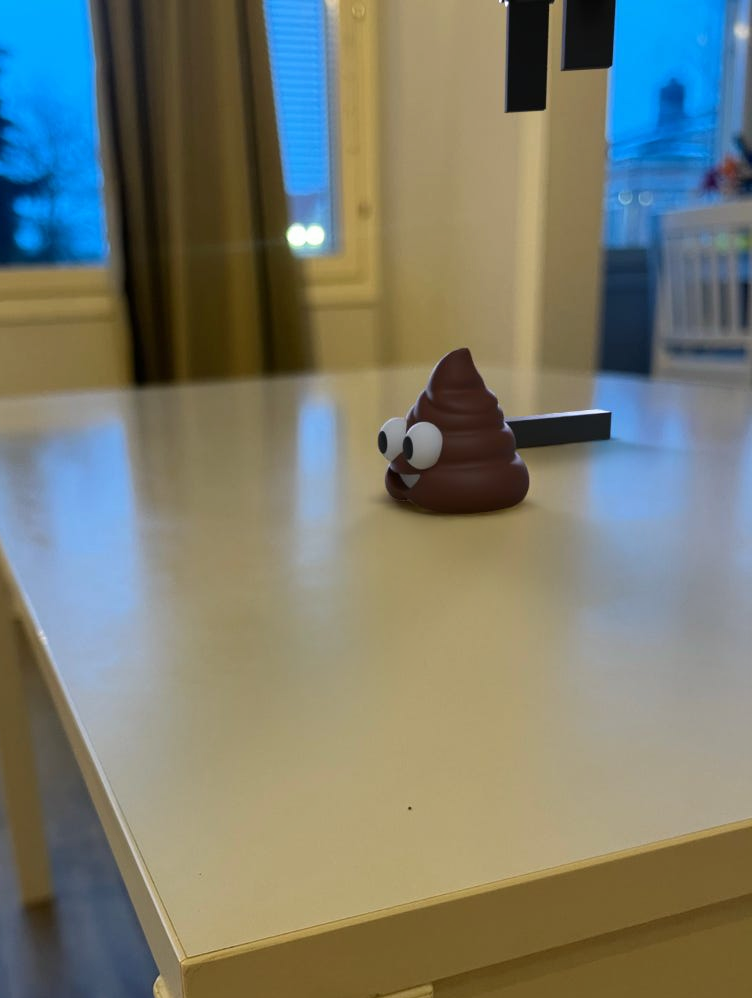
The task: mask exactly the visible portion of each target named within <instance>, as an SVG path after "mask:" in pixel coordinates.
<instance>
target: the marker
mask: <svg viewBox="0 0 752 998" xmlns="http://www.w3.org/2000/svg"><path fill="white" fill-rule="evenodd" d="M612 413H613V412H612V411H609V410H603V409H587V410H576V411H567V412H566V411H565V412H555V413H544V414H535V415H534V414H533V415H523V416H512V417H511V416H510V417H504V422H505V423H506V424H507V425H508V426H509V427H510V428H511V430H512V432H513V434H514V437H515V442H516V448H515V449H519V448H520V449H522V448H531V447H541V446H543V447H544V446H552V445H562V444H571V443H582V442H592V441H593V442H594V441H601V440H610V439H611V435H612V434H611V433H612V432H611V431H612V415H613V414H612Z"/></svg>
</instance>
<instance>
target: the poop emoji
mask: <svg viewBox="0 0 752 998" xmlns="http://www.w3.org/2000/svg"><path fill="white" fill-rule="evenodd" d="M504 418H505V415H504V410H503V409H502V407H501V406H500V404H499V400H498V397H497V396H496V394H495V393H494V392H493V391H491V390H490V389H489V388H488V387H487V386H486V384H485V381H484V379H483V377H482V375H481V372H479V370H478V369H477V367H476V365H475V362H474V360H473V356H472V353H471V350H470V349H469V347H461V348H457V349H453V350H451V351H449V352H448V353H447V354H445V355H444V356H443V357H442V358H441V359H440V360H439V361H438V362H437V364H436V365H435V366H434V368H433V370H432V371H431V373H430V375H429V377H428V380H427V384H426V388H424V389H423V390H422V391H421V392H420V393H419V395H418V397H417V399H416V401H415V403H414V404H413V405H412V407H411V408H410V409H409V410H408V412H407V413H406V416H405V418H404V417H392V418H390V419H388V420H387V421H386V422H385V423H384V424H383V425H382V427H381V428H380V431H379V432H378V435H377V447H378V450H379V452H380V453H381V455H382V456H383V457H384V458H385V460H387V461H389V463H388V465H387V468H386V469H385V474H384V486H385V489H386V492H387V493H388V495H389V496H390V497H391V498H392V499H394V500H395V501H399V502H406V501H409V502H411V503H412V504H413V505H415V506H417V507H419V508H421V509H423V510H426V511H428V512H433V513H439V514H444V515H445V514H446V515H476V514H485V513H491V512H498V511H503V510H507V509H511V508H513V507H516V506H517V505H519V504H520V503H522V502H523V501H524V499H525V498H526V496H527V495H528V492H529V489H530V474H529V469H528V467H527V465H526V462H525V461H524V459H523V458H522V457H521V456H520V454H519V453H517V452H516V449H517V448H516V442H515V437H514V434H513V432H512V430H511V428H510V427H509V426H508V425H507V424H506V423H505V422H504Z"/></svg>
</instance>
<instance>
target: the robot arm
mask: <svg viewBox="0 0 752 998" xmlns="http://www.w3.org/2000/svg"><path fill="white" fill-rule="evenodd" d="M498 1H499V3H500V4H505V7H506V13H505V14H506V21H505V23H506V24H505V28H506V29H505V64H504V67H505V69H504V110H503V111H504V114H510V113H511V114H513V113H514V114H515V113H528V112H529V113H530V112H544V111H545V110H547V93H548V65H549V62H548V61H549V35H550V34H549V33H550V5H553V4H554V3H555V1H556V0H498ZM616 4H617V0H562V17H561V18H562V21H561V44H560V45H561V46H560V47H561V48H560V49H561V50H560V72H571V71H572V72H573V71H591V70H604V69H605V70H606V69H607V70H608V69H609V68H611V67H613V62H614V47H615V46H614V45H615V25H616V23H615V22H616V21H615V20H616V6H617V5H616Z"/></svg>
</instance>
